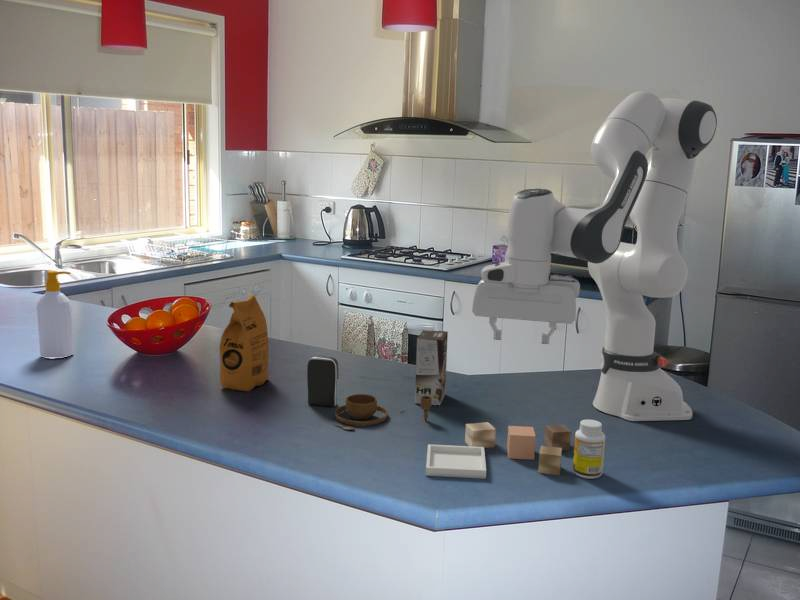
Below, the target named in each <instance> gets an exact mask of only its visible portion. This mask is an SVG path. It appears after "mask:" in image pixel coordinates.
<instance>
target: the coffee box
mask: <svg viewBox="0 0 800 600" xmlns="http://www.w3.org/2000/svg"><path fill="white" fill-rule="evenodd" d="M448 333H449V331H445V330H444V331H443V330H424V329H423V330H422V331H421V333H420V334H418V336H417V338H416V356H415V358H416V360H415V385H414V404H419V405H421V397H422V396H430V397H431V398H432V403H431V406H436V405H439V406H441V404H442V402H443V400H444V398H445V395H446V388H447V386H446V385H447V361H448V336H449V335H448Z"/></svg>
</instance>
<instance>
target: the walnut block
mask: <svg viewBox="0 0 800 600" xmlns="http://www.w3.org/2000/svg"><path fill="white" fill-rule="evenodd" d="M544 429H545V430H544V445H545V446H550V447H558V448H562V451H567V450H571V445H572V444H571V443H572V442H571V441H572V430H570V429H569V428H568V427H567V426H566V425H565V424H547V425H545V427H544Z"/></svg>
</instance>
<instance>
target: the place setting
mask: <svg viewBox="0 0 800 600" xmlns="http://www.w3.org/2000/svg"><path fill="white" fill-rule="evenodd" d="M431 403H432V398H431V397H430V396H422V397H421V404H420V408H421V409H422V411H423V416H422V417H423V420H425V421H427V420H428V417H429V415H428V412H429V410H431V408H432V405H431ZM346 410H347V411H346ZM376 410H377V411H380V412H381V413H383V414H384V415H385V416H382V417H380V418H378V419H372V420H369V419H370V418H371V417H372V416H373V415H375V414H376V413H377V412H376ZM343 411H346V413H347V414H348V415H349V416H350V417H352V418H353V419H354V418H355V419H354V420H351V419H346V418H343V417H341V416H340V415H341V414H342V413H341V412H343ZM401 411H402V412H401ZM401 411H399V412H400V414H401V413H404V412H405V410H401ZM340 413H341V414H340ZM343 413H344V412H343ZM381 413H380V414H381ZM388 413H389V411H388V410H387V409H386V408H385V407H383V406H380V405H378V398H377V397H376V396H373V395H371V394H364V393H357V394H351V395H349V396H347V397H346V399H345V405H341V406H339V407H338V408H336V409H335V410H334V416H335V419H336V421H337V422H339V421H340V423H341V422H342V423H341V424H343V423H345V424H344V425H346V426H344V425H340V424H336V425H337V426H339V427H338V428H341V427H342V428H343V427H350V428H351V429H345V430H344V428H343V429H342V428H341V429H342V430H344V431H348V430H352V431H354V430H355V428H354V426H351V425H358V426H357V427H364V426H363V425H372V426H375V425H374V424H377V425H379V424H378V423H380V424H381V422H382V423H383V422H385V421H386V420H387V419H388ZM339 414H340V415H339ZM338 415H339V416H338ZM368 418H369V419H368ZM357 419H366V420H357ZM427 422H428V421H427ZM347 424H349V425H347ZM337 426H336V427H337Z"/></svg>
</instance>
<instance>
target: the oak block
mask: <svg viewBox="0 0 800 600" xmlns="http://www.w3.org/2000/svg"><path fill="white" fill-rule="evenodd" d="M562 451H563V450H562V448H558V447H550V446H547V445H540V449H539V452H538V453H539V456H538V469H537V473H540V474H545V475H546V474H547V475H552V476H553V475H554V476H560V475H561V466H562V465H561V464H562V454H563V453H562Z"/></svg>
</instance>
